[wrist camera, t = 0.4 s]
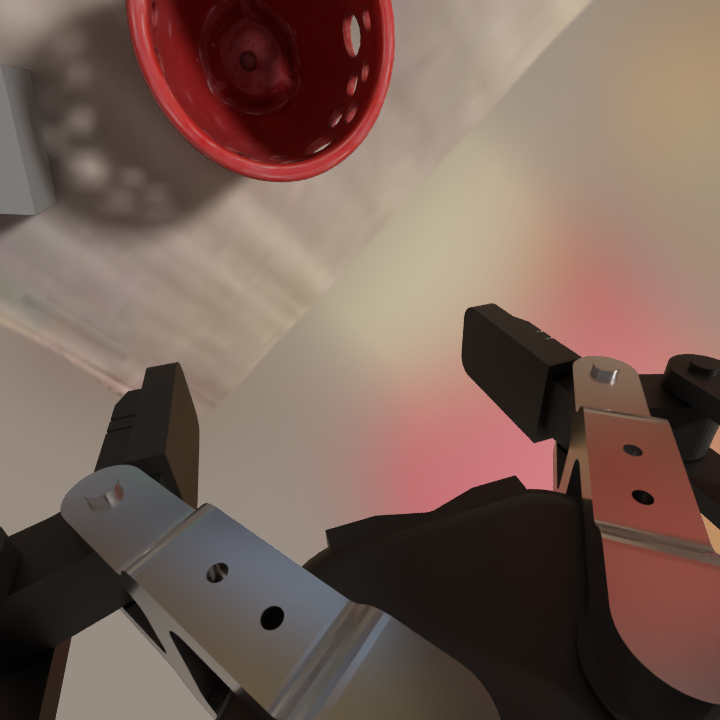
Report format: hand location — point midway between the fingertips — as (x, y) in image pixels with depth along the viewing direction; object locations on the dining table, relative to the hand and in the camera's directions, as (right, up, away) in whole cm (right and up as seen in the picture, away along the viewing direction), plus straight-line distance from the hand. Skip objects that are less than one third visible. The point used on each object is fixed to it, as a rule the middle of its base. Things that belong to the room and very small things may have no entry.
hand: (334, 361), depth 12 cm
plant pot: (-7, +21, +19) cm, 29 cm away
